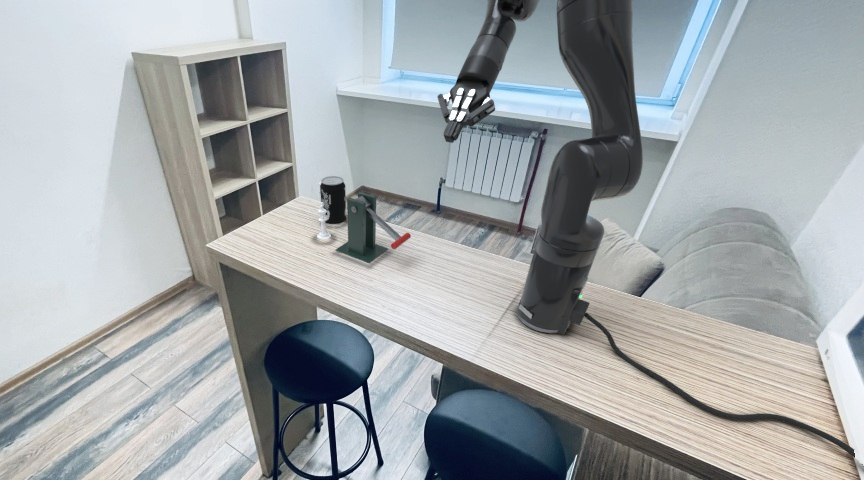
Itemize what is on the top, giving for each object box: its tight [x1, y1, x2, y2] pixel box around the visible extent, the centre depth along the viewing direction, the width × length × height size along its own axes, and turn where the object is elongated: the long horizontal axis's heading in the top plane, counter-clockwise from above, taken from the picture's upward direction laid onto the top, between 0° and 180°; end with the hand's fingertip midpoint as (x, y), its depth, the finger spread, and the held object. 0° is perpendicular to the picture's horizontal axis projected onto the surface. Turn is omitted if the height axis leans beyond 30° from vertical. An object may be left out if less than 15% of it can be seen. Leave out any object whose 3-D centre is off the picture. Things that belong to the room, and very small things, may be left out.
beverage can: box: [319, 175, 347, 225], centre depth 108 cm, size 7×7×12 cm
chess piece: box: [316, 201, 332, 240], centre depth 101 cm, size 5×5×10 cm
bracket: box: [334, 191, 389, 264], centre depth 94 cm, size 10×8×14 cm
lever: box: [355, 196, 412, 250], centre depth 90 cm, size 14×6×2 cm, turn 53°
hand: (448, 140), depth 84 cm, fingers closed
